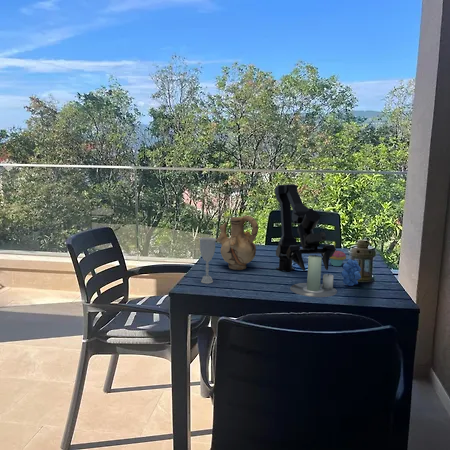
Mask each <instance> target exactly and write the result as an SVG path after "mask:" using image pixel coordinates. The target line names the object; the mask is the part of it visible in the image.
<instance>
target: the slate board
mask: <svg viewBox="0 0 450 450" xmlns="http://www.w3.org/2000/svg"><path fill="white" fill-rule="evenodd" d="M322 286H323V283H320V290H319V291H309V290H307V282H299V283H295V284H294V283H293V285H291V286H290V287H289V290H290V291H291V292H293V293H294V294H295V295H296V294H297V295H300V296H304V297H310V298H326V297H327V298H328V297H333V296H335V295H337V293H338V290H337V289H336V288H334V287H333V289H324V288H322Z"/></svg>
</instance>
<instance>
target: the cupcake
mask: <svg viewBox="0 0 450 450" xmlns="http://www.w3.org/2000/svg"><path fill="white" fill-rule="evenodd" d="M332 243H333V245H334V246H335V247H336V241H334V240H333V242H332ZM346 259H347V254H346V253H345V252H343V251H341V250H336V251H335V252H334V254H333V255H332V257H330V258H329V262H330V265H331V266H332V265H333V267H342V266H343V262H344V260H346Z"/></svg>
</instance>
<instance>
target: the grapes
mask: <svg viewBox="0 0 450 450" xmlns="http://www.w3.org/2000/svg"><path fill="white" fill-rule="evenodd" d="M342 268H343V270H342V271H341V272H340V274H341V277H342V283H343V284H344V285H346V286H349V287H352V286H354V285H359V282H358V281H359V280H360V279H362V276H361V271H362V268H361V266H360V265H359V262H358V260H356V259H354V260H353V259H351V258H349V259H348V260H347V261H346V263H343V264H342Z"/></svg>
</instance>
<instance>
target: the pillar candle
mask: <svg viewBox="0 0 450 450" xmlns="http://www.w3.org/2000/svg"><path fill="white" fill-rule="evenodd" d="M322 257H323V256H322V255H318V254H317V255H316V254H309V255H308V259H307V261H308V263H307V278H306V280H307V281H306V283H307V290H309V291H319V290H320V284H321V280H322V279H321V276H322V262H323V260H322Z"/></svg>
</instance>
